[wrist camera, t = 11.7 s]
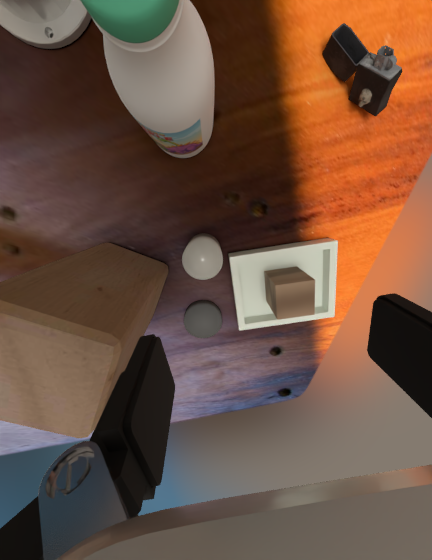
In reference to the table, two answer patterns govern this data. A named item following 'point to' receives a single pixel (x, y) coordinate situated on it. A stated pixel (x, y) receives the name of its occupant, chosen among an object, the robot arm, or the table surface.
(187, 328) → the gray rounded object
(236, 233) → the table surface
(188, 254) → the white rounded cylinder
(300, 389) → the table surface
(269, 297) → the walnut block
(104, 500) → the robot arm
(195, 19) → the milk bottle
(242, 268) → the tray
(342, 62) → the lighter
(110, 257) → the wooden block
